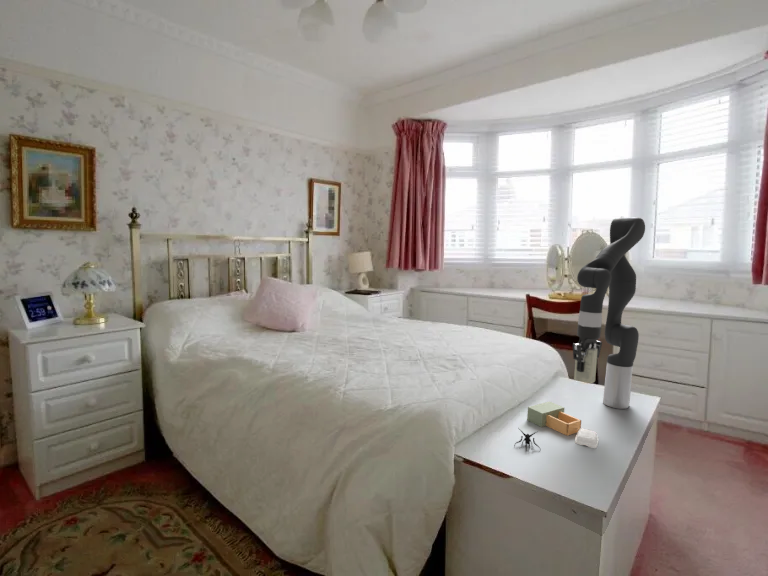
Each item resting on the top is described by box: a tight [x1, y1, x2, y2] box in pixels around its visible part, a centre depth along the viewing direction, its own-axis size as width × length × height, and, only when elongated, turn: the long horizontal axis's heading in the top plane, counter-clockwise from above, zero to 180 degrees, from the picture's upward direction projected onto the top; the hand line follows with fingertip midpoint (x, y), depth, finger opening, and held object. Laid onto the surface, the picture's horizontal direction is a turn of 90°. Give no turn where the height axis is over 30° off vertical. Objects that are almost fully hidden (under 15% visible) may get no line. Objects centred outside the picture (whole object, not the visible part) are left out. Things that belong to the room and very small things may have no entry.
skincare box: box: [573, 349, 598, 385], centre depth 152 cm, size 6×4×12 cm
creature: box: [514, 427, 541, 453], centre depth 134 cm, size 8×5×8 cm
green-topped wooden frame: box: [526, 401, 582, 437], centre depth 151 cm, size 12×15×5 cm
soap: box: [574, 427, 599, 449], centre depth 140 cm, size 9×7×3 cm
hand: (585, 370), depth 152 cm, fingers closed on skincare box, 5 cm apart
